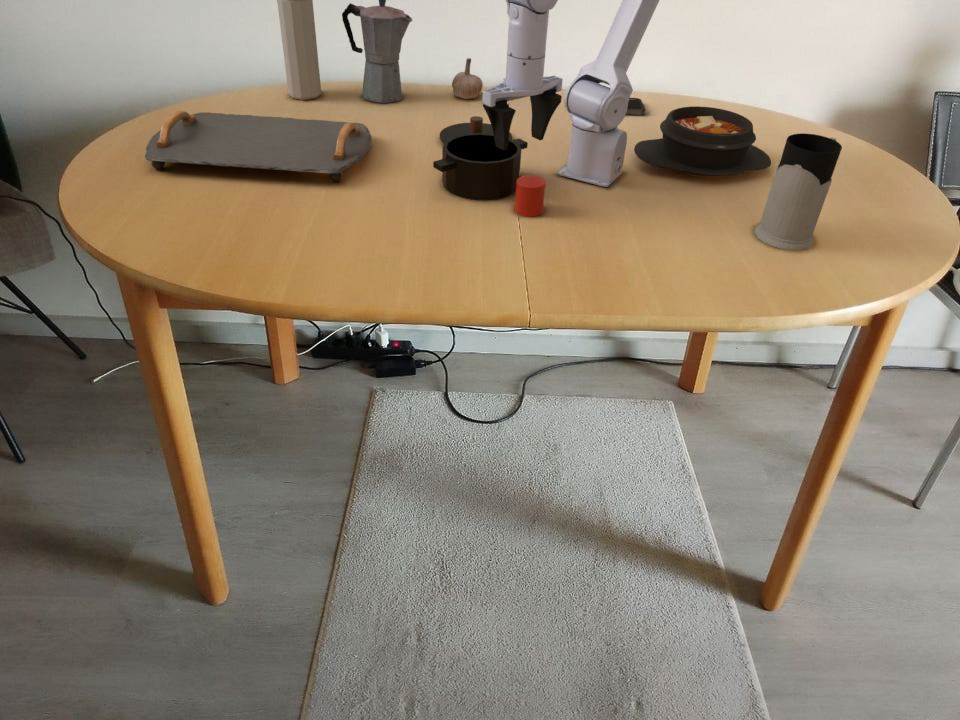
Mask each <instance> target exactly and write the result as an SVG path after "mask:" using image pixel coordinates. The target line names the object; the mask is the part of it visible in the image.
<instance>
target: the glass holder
mask: <svg viewBox="0 0 960 720" xmlns="http://www.w3.org/2000/svg"><path fill="white" fill-rule="evenodd" d="M842 149H843V146H842V144H840V143H839V142H838V141H837V139H836V138H835V137H827V136H824V135H819V134H814V133H804V132H803V133H802V132H801V133H794V134H791V135H788V136H787V138H786V140H785V144H784V148H783V151H782V154H781V156H780V160H779V164H778V165H777V166H776V170H775V173H774V176H773V179H772V183H771V185H770V190H769V193H768V196H767V200H766V203H765V206H764V210H763V212H762V215H761V218H760V222H759V224H758V225H757V226H756V227H755V229H754V235H755V236H756V238H757V239H758V240H760V241H761V242H763V243H765V245H768V246H771V247H774V248H777V249H781V250H787V251H802V250H803V251H804V250H807V249H809V248H810V247H812V246H813V245H814V232H815V229H816V226H817V223H818V220H819V218H820V215H821V212H822V210H823V206H824V204H825V201H826V199H827V195H828V193H829V189H830V186H831V184H832V181H833V179H832V177H833V174H834V172H835V169H836V167H837V163H838V160H839V158H840V155H841V151H842Z"/></svg>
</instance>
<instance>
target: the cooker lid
mask: <svg viewBox="0 0 960 720" xmlns="http://www.w3.org/2000/svg"><path fill="white" fill-rule="evenodd" d="M474 133H483V134H493V130H492V126H491V123H485V122H484V118H483V117H482V116H477V115H475V116H470V118H469V122H461V123H455V124H452V125H448V126H445V127H444V128H443V129H442V130H441V131H440V132H439V140H440V141H441V143H442V144H444V143H445V142H446V141H447V140H449V139H451V138H452V137H455V136H459V135H463V134H474ZM509 139H511V140H513V135H512V133H511V132H509Z"/></svg>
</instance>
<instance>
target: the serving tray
mask: <svg viewBox="0 0 960 720" xmlns="http://www.w3.org/2000/svg"><path fill="white" fill-rule="evenodd" d="M372 138H373V136H372V134H371V132H370V130H369V128H368V126H366V125H365V124H364V123H360V122H352V121H351V122H349V121H333V120H325V119H306V118H305V119H302V118H293V117H283V116H266V115H265V116H264V115H252V114H233V113H228V114H227V113H222V112H221V113H220V112H206V111H205V112H196V113H192V114H189V112H187V111H185V110H177V111H175V112H172V113H171V114H170V115H169V116H167V117H166V118H165V120H164V121H163V123H162V125H161V128H160V129H159V130H158V131H157V132H156V133H155V134H153V135H152V137H151V138H150V139H149V141H148V143H147V145H146V147H145V155H144V158H145V160H146V161H147V162H150V161H151V162H150V164H151V166H152V167H153V168H154V170H155V171H162V170H165V169H164V168H165V165H166V163H175V164H188V165H189V164H190V165H202V166H203V165H204V166H216V167H217V166H218V167H232V168H244V169H257V170H259V169H260V170H271V171H272V170H273V171H288V172H300V173H301V172H302V173H314V174H315V173H317V174H329V175H328V178H329V180H330V181H331V182H332V184H339V183H341V181H342V178H343V174H342V172H344V171H346V170H348V169H350V168H352V166H354V165H356V164H357V163H358V162H360V161H361V160H362V158H363V157H365V155H366V154H367V153H368V152H369V151H370V150H371V146H372Z"/></svg>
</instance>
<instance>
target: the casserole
mask: <svg viewBox="0 0 960 720" xmlns="http://www.w3.org/2000/svg"><path fill="white" fill-rule="evenodd" d="M659 129H660V131H661V133H662V137H661V138H655V139H646V140H641V141H638V142H637V143H636V144H635V145H634V148H633V151H634V153H635V155H636V156H637V158H639V159H640V160H641V161H643V162H644V163H645V164H648V166H649V165H650V166H652V167H657V168H662V169H669V170H676V171H680V172H684V173H687V174H691V175H694V176H695V175H696V176H702V177H704V176H705V177H727V176H735V175H739V174H742V173H746V172H752V171H760V170H766V169H768V168H770V167H771V166H772V159H771V158H770V156H769V155H768V154H767V153H766V151H764V150H763V149H761V148H759V147H758V146H756V145H753V144H754V143H755V142H756V140H757V136H756V134H755V132H754V124H753V123H752V120H750V119H749V118H747V117H745V116H744V115H742V114H739V113H737V112H734V111H731V110H727V109H723V108H717V107H710V106H682V107H678V108H675V109H672V110H671V111H669V112H668V114H667V116H666V117H665V119H664V120H662V121H661V123H660V125H659Z"/></svg>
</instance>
